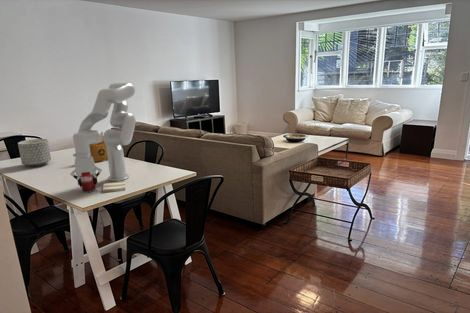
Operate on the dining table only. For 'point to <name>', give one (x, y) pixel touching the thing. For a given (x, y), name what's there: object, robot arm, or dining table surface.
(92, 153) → the coffee package
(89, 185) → the soda can
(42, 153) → the planter
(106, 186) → the birch board
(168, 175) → the dining table surface
